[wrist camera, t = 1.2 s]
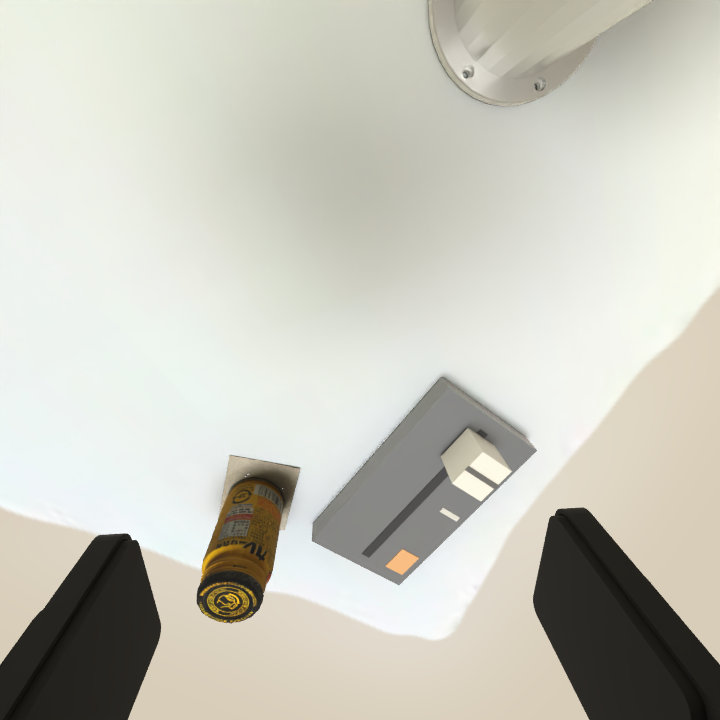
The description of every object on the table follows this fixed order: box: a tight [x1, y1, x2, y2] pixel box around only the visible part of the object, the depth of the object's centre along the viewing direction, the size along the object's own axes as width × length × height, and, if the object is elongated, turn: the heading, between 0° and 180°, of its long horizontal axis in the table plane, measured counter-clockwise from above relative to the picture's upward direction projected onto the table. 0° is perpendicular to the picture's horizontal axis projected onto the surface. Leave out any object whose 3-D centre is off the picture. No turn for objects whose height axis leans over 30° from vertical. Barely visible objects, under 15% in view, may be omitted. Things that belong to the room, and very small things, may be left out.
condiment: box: [197, 456, 300, 623], centre depth 37 cm, size 7×8×12 cm
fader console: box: [312, 377, 537, 585], centre depth 42 cm, size 22×12×3 cm, turn 143°
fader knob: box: [441, 428, 512, 501], centre depth 37 cm, size 4×4×4 cm
